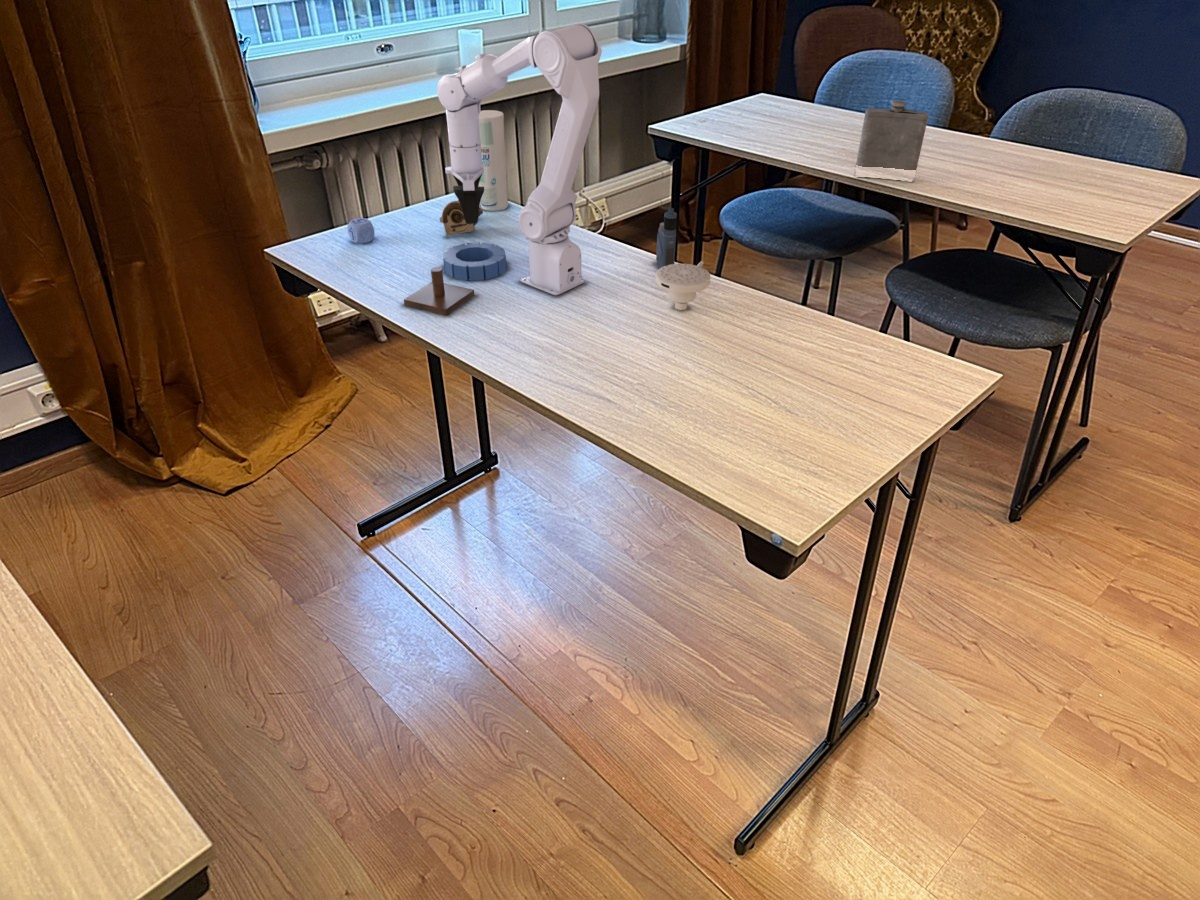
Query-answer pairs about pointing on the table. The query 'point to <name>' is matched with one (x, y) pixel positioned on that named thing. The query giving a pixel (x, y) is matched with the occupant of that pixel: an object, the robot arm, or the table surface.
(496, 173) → the spray can
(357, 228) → the decorative dice
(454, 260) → the ring
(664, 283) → the showerhead
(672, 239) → the vaping device
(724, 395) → the table surface
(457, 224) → the mechanical counter
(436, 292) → the brown peg stand
